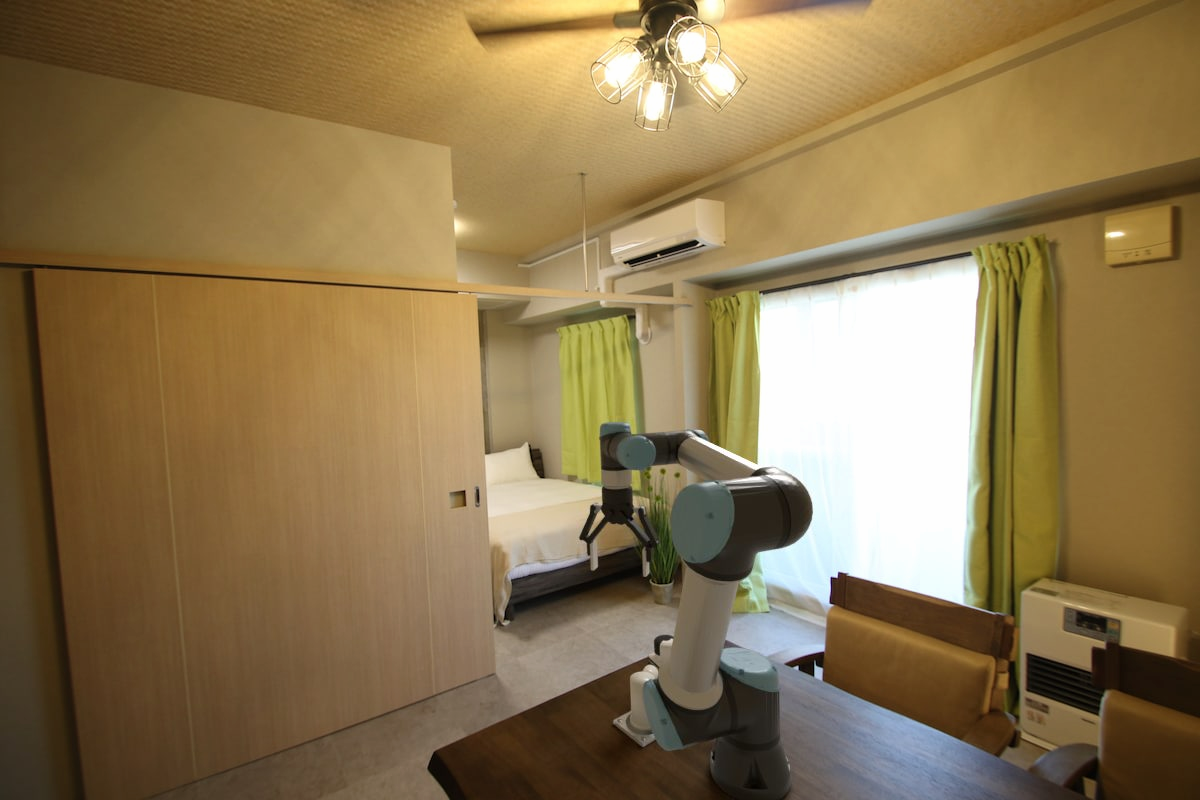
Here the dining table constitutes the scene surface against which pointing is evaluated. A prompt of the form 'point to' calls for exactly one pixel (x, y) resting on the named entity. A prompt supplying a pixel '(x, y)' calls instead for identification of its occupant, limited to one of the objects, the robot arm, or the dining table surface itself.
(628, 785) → the dining table surface
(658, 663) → the medicine bottle
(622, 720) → the flange plate
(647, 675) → the elbow
